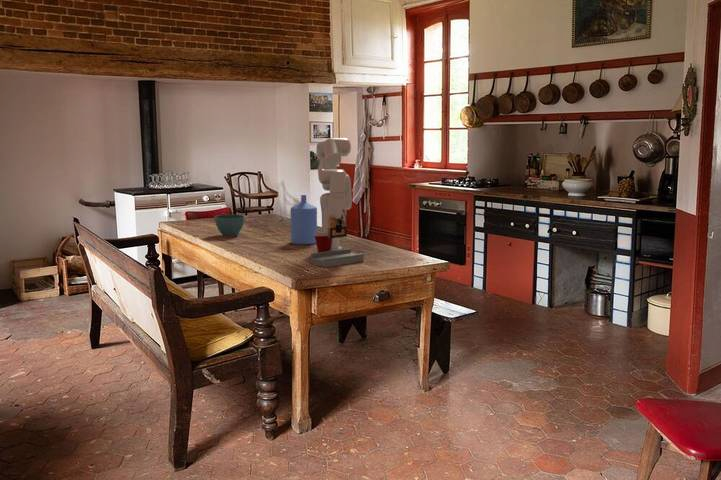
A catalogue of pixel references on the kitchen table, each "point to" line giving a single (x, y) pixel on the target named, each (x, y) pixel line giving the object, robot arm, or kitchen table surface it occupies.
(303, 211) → the water jug
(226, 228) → the plant pot
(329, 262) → the grey tray
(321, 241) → the plastic cup
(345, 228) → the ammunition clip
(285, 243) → the kitchen table surface
